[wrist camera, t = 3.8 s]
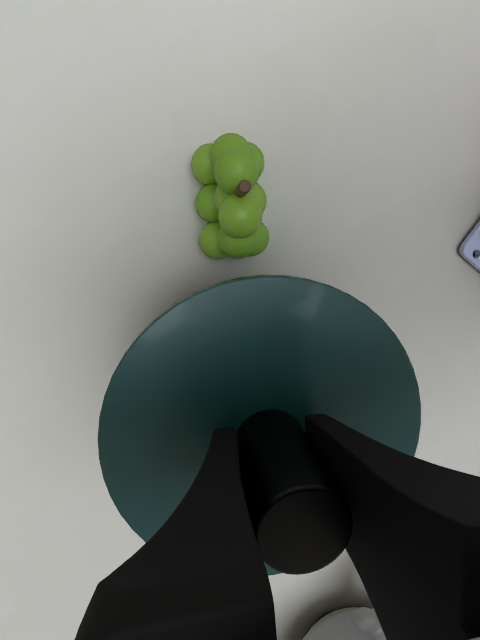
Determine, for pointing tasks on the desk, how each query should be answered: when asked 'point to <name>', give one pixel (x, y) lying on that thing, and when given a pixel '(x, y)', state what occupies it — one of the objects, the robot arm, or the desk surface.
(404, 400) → the pot lid
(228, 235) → the grapes
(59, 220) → the desk surface
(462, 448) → the desk surface
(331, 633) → the teacup
